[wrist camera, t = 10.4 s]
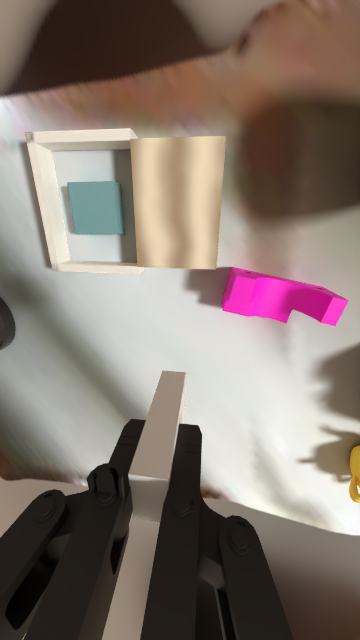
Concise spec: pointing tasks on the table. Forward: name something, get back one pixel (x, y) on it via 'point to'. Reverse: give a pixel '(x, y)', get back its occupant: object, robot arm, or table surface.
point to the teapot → (355, 474)
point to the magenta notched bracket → (279, 297)
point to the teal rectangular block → (96, 207)
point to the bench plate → (177, 200)
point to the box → (49, 194)
